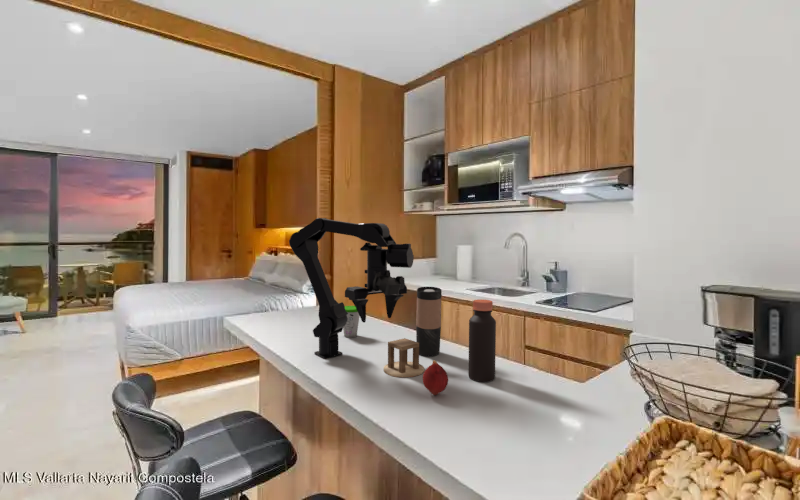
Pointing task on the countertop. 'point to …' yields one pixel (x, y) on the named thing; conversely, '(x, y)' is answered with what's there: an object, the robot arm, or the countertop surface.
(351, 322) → the cup
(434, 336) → the travel mug
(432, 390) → the onion
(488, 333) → the bottle
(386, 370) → the trivet
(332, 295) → the robot arm
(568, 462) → the countertop surface
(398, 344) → the tan block with prongs
